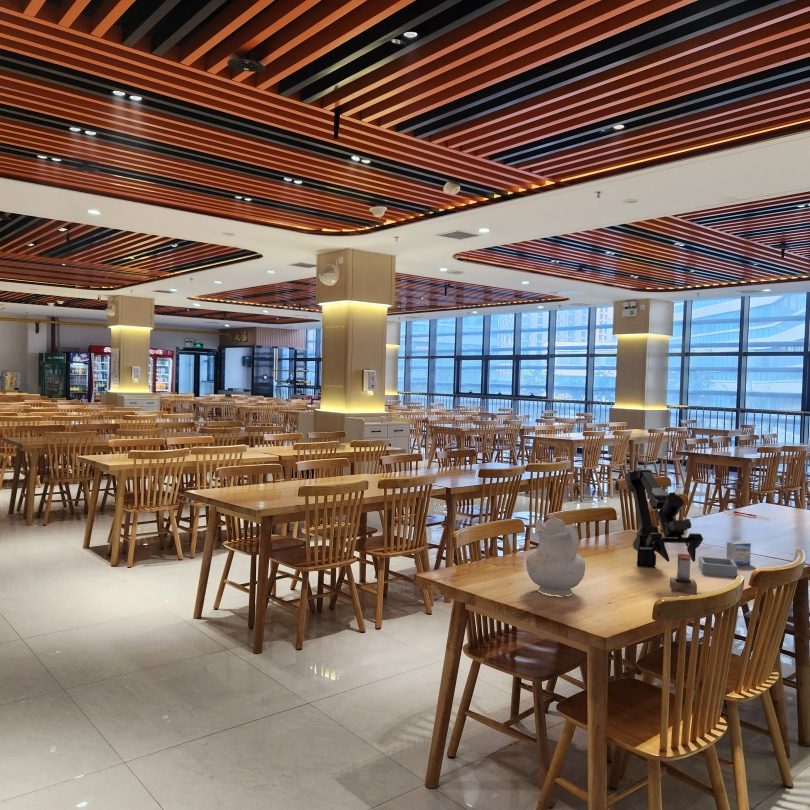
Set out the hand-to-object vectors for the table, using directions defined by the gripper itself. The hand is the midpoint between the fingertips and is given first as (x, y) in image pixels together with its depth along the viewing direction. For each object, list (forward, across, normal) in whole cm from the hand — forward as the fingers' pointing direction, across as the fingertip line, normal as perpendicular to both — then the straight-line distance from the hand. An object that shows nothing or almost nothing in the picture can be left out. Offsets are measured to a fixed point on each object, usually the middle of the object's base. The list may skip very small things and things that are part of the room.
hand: (681, 561), depth 244 cm
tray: (-9, +25, +22) cm, 35 cm away
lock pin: (+8, 0, +5) cm, 10 cm away
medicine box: (-18, +40, +31) cm, 54 cm away
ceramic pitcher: (+12, -46, +2) cm, 47 cm away
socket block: (+8, 0, +5) cm, 10 cm away
